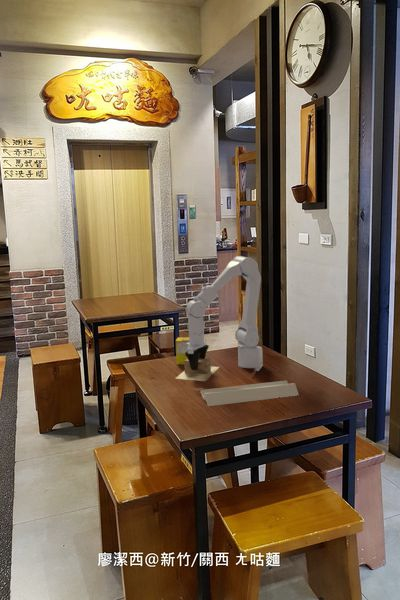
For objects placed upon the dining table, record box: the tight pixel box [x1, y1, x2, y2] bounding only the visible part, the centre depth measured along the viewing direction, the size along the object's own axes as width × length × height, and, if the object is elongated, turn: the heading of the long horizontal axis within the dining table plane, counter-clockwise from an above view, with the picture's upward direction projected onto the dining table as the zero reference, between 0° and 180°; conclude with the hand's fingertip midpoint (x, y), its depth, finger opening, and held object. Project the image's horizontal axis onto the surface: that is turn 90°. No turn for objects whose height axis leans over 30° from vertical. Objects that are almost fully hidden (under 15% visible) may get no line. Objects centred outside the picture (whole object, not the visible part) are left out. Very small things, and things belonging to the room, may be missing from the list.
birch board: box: [175, 365, 220, 382], centre depth 189 cm, size 12×17×1 cm
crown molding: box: [199, 380, 300, 407], centre depth 167 cm, size 31×12×4 cm, turn 102°
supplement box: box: [175, 336, 189, 365], centre depth 202 cm, size 6×6×11 cm
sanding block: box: [183, 358, 212, 375], centre depth 188 cm, size 9×4×5 cm, turn 70°
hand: (197, 366), depth 188 cm, fingers open, 7 cm apart
